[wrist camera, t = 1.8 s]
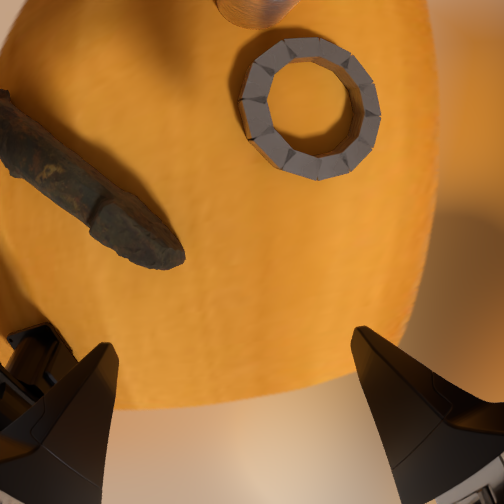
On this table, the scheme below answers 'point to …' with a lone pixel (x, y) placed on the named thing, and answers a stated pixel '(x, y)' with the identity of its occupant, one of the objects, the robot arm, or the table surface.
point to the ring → (271, 141)
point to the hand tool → (84, 192)
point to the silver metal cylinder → (255, 12)
